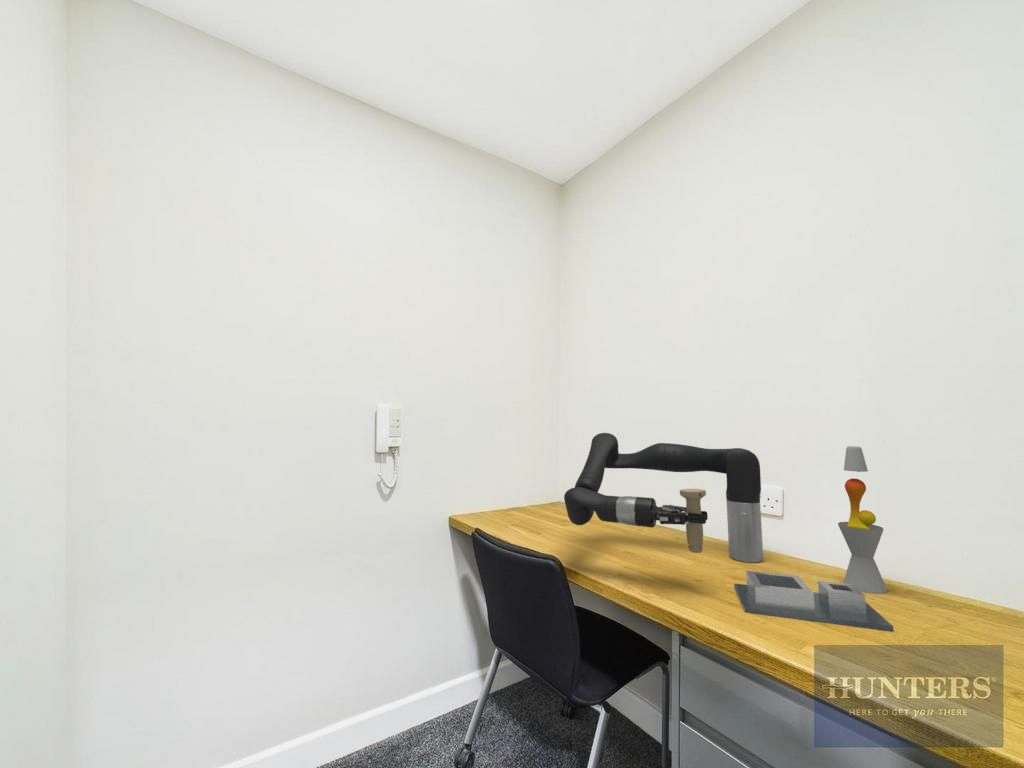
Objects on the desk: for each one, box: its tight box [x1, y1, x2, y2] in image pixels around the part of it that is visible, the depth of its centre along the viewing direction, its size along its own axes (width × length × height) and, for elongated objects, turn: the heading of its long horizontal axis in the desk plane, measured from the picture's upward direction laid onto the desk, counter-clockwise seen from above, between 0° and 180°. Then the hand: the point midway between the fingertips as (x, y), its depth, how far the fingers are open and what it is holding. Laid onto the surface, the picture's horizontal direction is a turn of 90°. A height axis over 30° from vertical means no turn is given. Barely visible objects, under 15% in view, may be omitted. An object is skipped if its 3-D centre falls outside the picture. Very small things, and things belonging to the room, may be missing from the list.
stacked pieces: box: [837, 445, 889, 595], centre depth 109 cm, size 9×9×35 cm
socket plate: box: [733, 570, 894, 632], centre depth 95 cm, size 15×26×5 cm, turn 70°
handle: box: [679, 488, 707, 554], centre depth 107 cm, size 5×6×15 cm
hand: (706, 517), depth 105 cm, fingers closed on handle, 3 cm apart
